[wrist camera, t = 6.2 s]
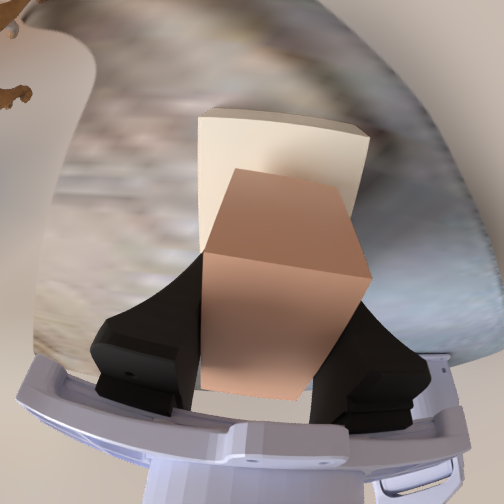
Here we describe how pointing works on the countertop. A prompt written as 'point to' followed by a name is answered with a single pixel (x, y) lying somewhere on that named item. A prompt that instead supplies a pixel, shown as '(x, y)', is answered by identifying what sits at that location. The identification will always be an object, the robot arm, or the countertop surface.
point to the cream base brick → (274, 154)
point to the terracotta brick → (276, 285)
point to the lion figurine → (4, 18)
